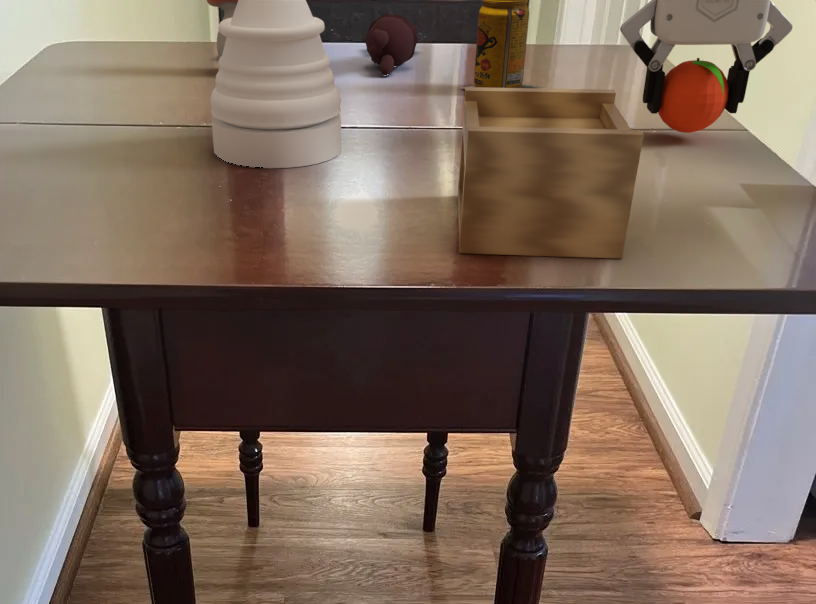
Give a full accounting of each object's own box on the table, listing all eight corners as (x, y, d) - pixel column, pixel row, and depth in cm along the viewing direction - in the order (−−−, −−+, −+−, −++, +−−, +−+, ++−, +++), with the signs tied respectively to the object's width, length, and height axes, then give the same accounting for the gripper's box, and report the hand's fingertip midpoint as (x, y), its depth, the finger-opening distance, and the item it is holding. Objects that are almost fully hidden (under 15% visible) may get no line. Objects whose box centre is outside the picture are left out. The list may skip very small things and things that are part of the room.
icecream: (370, 8, 131) (346, 35, 120) (420, -5, 129) (401, 21, 117) (381, 58, 135) (360, 89, 124) (430, 46, 132) (413, 77, 121)
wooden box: (597, 199, 80) (613, 89, 75) (622, 259, 68) (644, 134, 63) (457, 195, 81) (465, 87, 76) (459, 253, 69) (467, 130, 64)
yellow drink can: (458, 89, 116) (465, -18, 110) (506, 80, 120) (515, -23, 114) (500, 99, 111) (510, -12, 105) (548, 89, 116) (560, -18, 109)
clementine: (743, 137, 93) (758, 62, 89) (685, 145, 91) (698, 68, 87) (692, 121, 99) (704, 50, 96) (637, 128, 97) (647, 55, 94)
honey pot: (240, 175, 86) (226, -44, 76) (197, 142, 96) (180, -56, 86) (363, 157, 91) (365, -51, 81) (310, 128, 100) (306, -61, 90)
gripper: (635, -89, 82) (608, 119, 92) (839, -93, 81) (790, 119, 90) (622, -92, 89) (598, 103, 98) (811, -96, 87) (768, 102, 96)
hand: (690, 109), depth 94 cm, fingers closed on clementine, 7 cm apart
